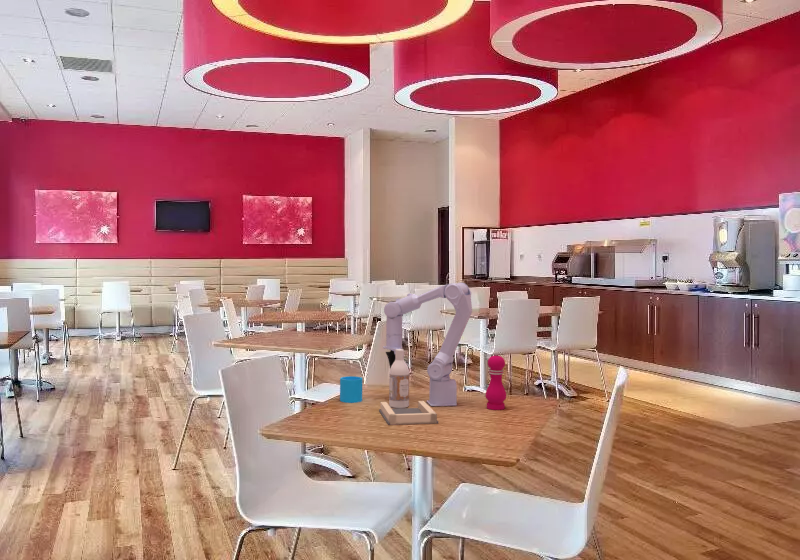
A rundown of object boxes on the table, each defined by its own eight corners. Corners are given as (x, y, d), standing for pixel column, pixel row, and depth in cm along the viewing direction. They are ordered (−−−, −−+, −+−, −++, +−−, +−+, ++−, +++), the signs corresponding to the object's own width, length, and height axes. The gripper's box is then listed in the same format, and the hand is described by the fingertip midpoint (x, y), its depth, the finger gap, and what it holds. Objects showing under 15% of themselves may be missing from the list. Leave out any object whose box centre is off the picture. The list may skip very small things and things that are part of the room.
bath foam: (396, 409, 235) (396, 351, 234) (385, 405, 240) (386, 349, 240) (412, 407, 238) (413, 350, 238) (401, 403, 244) (402, 347, 243)
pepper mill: (505, 406, 241) (506, 349, 241) (506, 410, 234) (507, 352, 234) (484, 405, 242) (485, 349, 242) (485, 410, 235) (486, 352, 234)
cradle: (425, 409, 235) (425, 400, 235) (438, 423, 215) (438, 413, 215) (378, 410, 232) (379, 402, 232) (388, 425, 212) (388, 415, 212)
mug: (359, 403, 244) (360, 380, 244) (337, 402, 245) (337, 379, 245) (366, 396, 256) (366, 375, 256) (344, 395, 257) (345, 374, 257)
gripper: (380, 332, 257) (380, 368, 257) (386, 336, 243) (386, 374, 243) (398, 332, 258) (398, 367, 258) (405, 336, 244) (405, 374, 244)
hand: (393, 371), depth 251 cm, fingers closed
